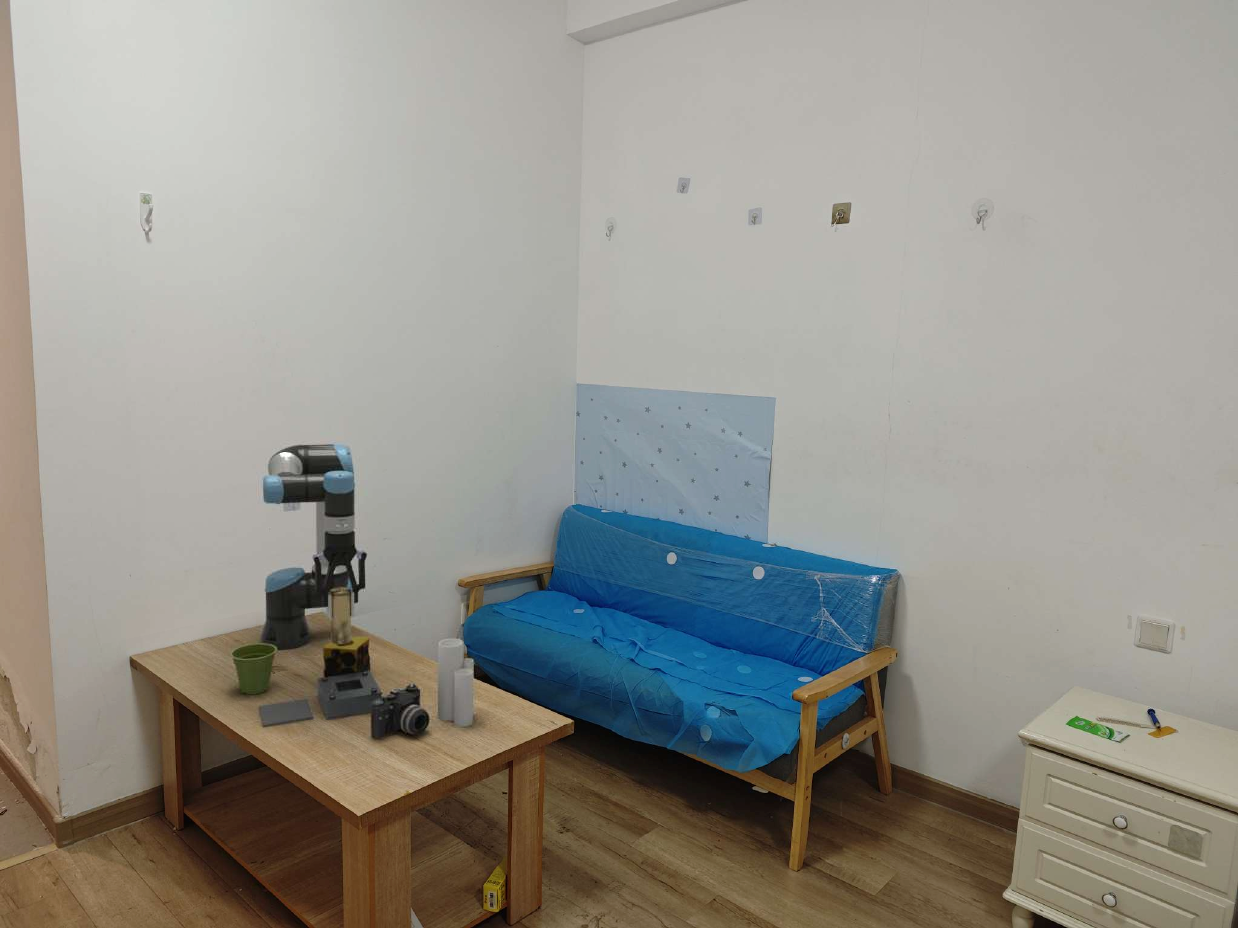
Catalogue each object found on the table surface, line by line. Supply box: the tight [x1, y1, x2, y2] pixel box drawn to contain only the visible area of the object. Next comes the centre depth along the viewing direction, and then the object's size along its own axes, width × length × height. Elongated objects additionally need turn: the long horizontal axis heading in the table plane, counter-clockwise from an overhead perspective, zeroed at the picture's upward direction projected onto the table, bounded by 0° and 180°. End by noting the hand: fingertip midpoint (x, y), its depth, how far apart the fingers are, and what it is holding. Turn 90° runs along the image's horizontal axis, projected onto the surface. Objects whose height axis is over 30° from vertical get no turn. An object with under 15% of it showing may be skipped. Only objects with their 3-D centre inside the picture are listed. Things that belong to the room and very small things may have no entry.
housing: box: [316, 670, 383, 720], centre depth 222 cm, size 16×14×6 cm
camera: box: [370, 683, 430, 740], centre depth 207 cm, size 14×11×10 cm
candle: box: [322, 636, 371, 677], centre depth 240 cm, size 10×10×10 cm
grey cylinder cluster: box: [437, 638, 475, 728], centre depth 215 cm, size 11×7×20 cm, turn 59°
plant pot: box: [229, 642, 278, 695], centre depth 228 cm, size 12×12×11 cm
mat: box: [258, 698, 314, 728], centre depth 215 cm, size 12×12×1 cm
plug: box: [330, 587, 352, 644], centre depth 218 cm, size 5×5×14 cm
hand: (340, 616), depth 218 cm, fingers closed on plug, 5 cm apart
